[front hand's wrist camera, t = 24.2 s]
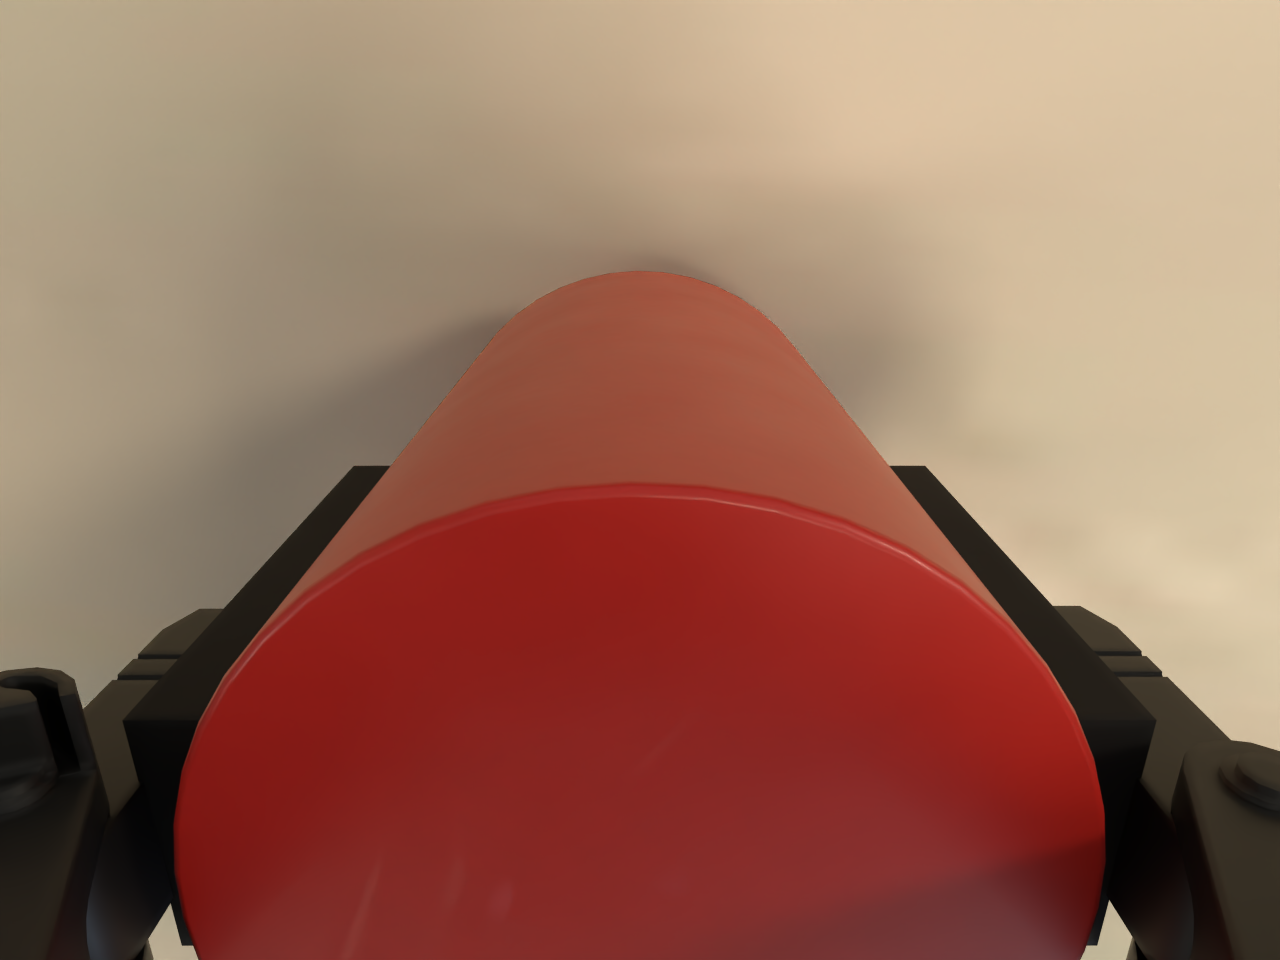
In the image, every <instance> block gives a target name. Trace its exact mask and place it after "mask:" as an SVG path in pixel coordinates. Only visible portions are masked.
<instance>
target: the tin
mask: <svg viewBox="0 0 1280 960" xmlns="http://www.w3.org/2000/svg"><path fill="white" fill-rule="evenodd" d="M173 827H174V873H175V878H176V883H177V889H178V894H179V899H180V904H181V909H182V914H183V919H184V922H185V924H186V927H187V930H188V932H189V935H190V938H191V941H192V943H193V946H194V949H195V951H196V954H197V957H198V960H1080V959H1081V957H1082V955H1083V953H1084V951H1085V948H1086V945H1087V942H1088V939H1089V936H1090V933H1091V930H1092V926H1093V923H1094V920H1095V917H1096V914H1097V911H1098V908H1099V902H1100V895H1101V889H1102V882H1103V875H1104V869H1105V862H1106V857H1105V814H1104V806H1103V801H1102V796H1101V791H1100V786H1099V781H1098V776H1097V771H1096V766H1095V761H1094V757H1093V755H1092V752H1091V750H1090V747H1089V745H1088V742H1087V740H1086V737H1085V734H1084V732H1083V729H1082V727H1081V724H1080V722H1079V719H1078V717H1077V714H1076V712H1075V710H1074V708H1073V706H1072V705H1071V703H1070V701H1069V700H1068V698H1067V696H1066V695H1065V693H1064V691H1063V690H1062V688H1061V687H1060V685H1059V683H1058V682H1057V680H1056V678H1055V677H1054V675H1053V673H1052V672H1051V670H1050V668H1049V667H1048V665H1047V664H1046V662H1045V661H1044V660H1043V659H1042V657H1041V656H1040V655H1039V654H1038V652H1037V651H1036V650H1035V648H1034V647H1033V646H1032V645H1031V643H1030V642H1029V641H1028V640H1027V638H1026V637H1025V636H1024V635H1023V633H1022V632H1021V631H1020V630H1019V628H1018V627H1017V626H1016V625H1015V623H1014V622H1013V621H1012V620H1011V618H1010V617H1009V616H1008V615H1007V613H1006V612H1005V611H1004V610H1003V608H1002V607H1001V606H1000V605H999V603H998V602H997V601H996V600H995V598H994V597H993V596H992V594H991V593H990V592H989V591H988V589H987V588H986V587H985V586H984V584H983V583H982V582H981V581H980V579H979V578H978V577H977V576H976V574H975V573H974V572H973V571H972V569H971V568H970V567H969V566H968V564H967V563H966V562H965V561H964V559H963V558H962V557H961V556H960V554H959V553H958V552H957V551H956V549H955V548H954V547H953V546H952V544H951V543H950V542H949V541H948V539H947V538H946V537H945V535H944V534H943V533H942V532H941V530H940V529H939V528H938V527H937V525H936V524H935V523H934V522H933V520H932V519H931V518H930V517H929V515H928V514H927V513H926V512H925V510H924V509H923V508H922V507H921V505H920V504H919V503H918V502H917V500H916V499H915V498H914V497H913V495H912V494H911V493H910V492H909V490H908V489H907V488H906V487H905V485H904V484H903V483H902V481H901V480H900V479H899V478H898V476H897V475H896V474H895V473H894V471H893V470H892V469H891V468H890V466H889V465H888V464H887V463H886V461H885V460H884V459H883V458H882V456H881V455H880V454H879V453H878V451H877V450H876V449H875V448H874V446H873V445H872V444H871V443H870V441H869V440H868V439H867V438H866V436H865V435H864V434H863V433H862V431H861V430H860V429H859V428H858V426H857V425H856V424H855V422H854V421H853V420H852V419H851V417H850V416H849V415H848V414H847V412H846V411H845V410H844V409H843V407H842V406H841V405H840V404H839V402H838V401H837V400H836V399H835V397H834V396H833V395H832V394H831V392H830V391H829V390H828V389H827V387H826V386H825V385H824V384H823V382H822V381H821V380H820V379H819V377H818V376H817V375H816V374H815V372H814V371H813V370H812V369H811V367H810V366H809V365H808V363H807V362H806V361H805V360H804V358H803V357H802V356H801V355H800V353H799V352H798V351H797V350H796V348H795V347H794V346H793V345H792V344H791V342H790V341H789V340H788V339H787V338H786V337H785V335H784V334H783V333H782V332H781V331H780V330H779V328H778V327H776V326H775V325H774V324H773V323H772V322H771V321H770V320H769V319H767V318H766V317H765V316H764V315H763V314H762V313H761V312H760V311H758V310H757V309H755V308H754V307H752V306H751V305H749V304H748V303H746V302H745V301H743V300H742V299H740V298H739V297H737V296H735V295H733V294H731V293H729V292H727V291H725V290H723V289H721V288H719V287H717V286H714V285H711V284H708V283H705V282H702V281H699V280H696V279H693V278H690V277H685V276H680V275H675V274H669V273H664V272H646V271H631V272H619V273H609V274H604V275H600V276H595V277H591V278H586V279H583V280H580V281H577V282H574V283H572V284H569V285H566V286H564V287H561V288H558V289H557V290H555V291H553V292H551V293H549V294H547V295H545V296H543V297H541V298H540V299H538V300H536V301H535V302H533V303H532V304H530V305H529V306H528V307H526V308H525V309H523V310H522V311H521V312H519V313H518V314H517V315H515V316H514V317H513V318H512V319H511V320H510V321H509V322H508V323H507V324H506V325H505V326H504V327H503V328H502V329H501V330H499V331H498V332H497V333H496V335H495V336H494V337H493V339H492V340H491V341H490V342H489V344H488V345H487V346H486V347H485V349H484V350H483V351H482V352H481V354H480V355H479V356H478V357H477V359H476V360H475V361H474V362H473V364H472V365H471V366H470V367H469V369H468V370H467V371H466V372H465V374H464V375H463V376H462V377H461V379H460V380H459V381H458V382H457V384H456V385H455V386H454V387H453V389H452V390H451V391H450V392H449V394H448V395H447V396H446V397H445V399H444V400H443V401H442V402H441V404H440V405H439V406H438V407H437V409H436V410H435V411H434V412H433V414H432V415H431V416H430V417H429V419H428V420H427V421H426V423H425V424H424V425H423V426H422V428H421V429H420V430H419V431H418V433H417V434H416V435H415V436H414V438H413V439H412V440H411V441H410V443H409V444H408V445H407V446H406V448H405V449H404V450H403V451H402V453H401V454H400V455H399V456H398V458H397V459H396V460H395V461H394V463H393V464H392V465H391V466H390V468H389V469H388V470H387V471H386V473H385V474H384V475H383V476H382V478H381V479H380V480H379V481H378V483H377V484H376V485H375V486H374V488H373V489H372V490H371V491H370V493H369V494H368V495H367V496H366V498H365V499H364V500H363V501H362V503H361V504H360V505H359V507H358V508H357V509H356V510H355V512H354V513H353V514H352V515H351V517H350V518H349V519H348V520H347V522H346V523H345V524H344V525H343V527H342V528H341V529H340V530H339V532H338V533H337V534H336V535H335V537H334V538H333V539H332V540H331V542H330V543H329V544H328V545H327V547H326V548H325V549H324V550H323V552H322V553H321V554H320V555H319V557H318V558H317V559H316V560H315V562H314V563H313V564H312V565H311V567H310V568H309V569H308V570H307V572H306V573H305V574H304V575H303V577H302V578H301V579H300V580H299V582H298V583H297V584H296V585H295V587H294V588H293V589H292V591H291V592H290V593H289V594H288V596H287V597H286V598H285V599H284V601H283V602H282V603H281V604H280V606H279V607H278V608H277V609H276V611H275V612H274V613H273V614H272V616H271V617H270V618H269V619H268V621H267V622H266V623H265V624H264V626H263V627H262V628H261V629H260V631H259V632H258V633H257V634H256V636H255V637H254V638H253V639H252V641H251V642H250V643H249V645H248V646H247V647H246V648H245V650H244V651H243V652H242V653H241V655H240V656H239V657H238V658H237V660H236V661H235V662H234V663H233V665H232V666H231V667H230V669H229V670H228V671H227V672H226V674H225V675H224V677H223V678H222V680H221V682H220V684H219V686H218V687H217V689H216V691H215V693H214V695H213V697H212V698H211V700H210V702H209V704H208V706H207V707H206V709H205V711H204V713H203V715H202V717H201V718H200V720H199V722H198V725H197V728H196V731H195V733H194V736H193V739H192V742H191V745H190V748H189V751H188V754H187V757H186V760H185V763H184V765H183V768H182V772H181V779H180V785H179V791H178V798H177V804H176V810H175V817H174V825H173Z"/></svg>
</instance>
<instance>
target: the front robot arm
mask: <svg viewBox="0 0 1280 960" xmlns="http://www.w3.org/2000/svg"><path fill="white" fill-rule="evenodd" d="M389 468H390V466H353V468H352V469H351V470H350V471H349V472H348V473H347V474H346V475H345V476H344V477H343V479H342V480H341V481H340V482H339V483H338V484H337V485H336V486H335V487H334V488H333V489H332V491H331V492H330V493H329V494H328V495H327V496H326V497H325V498H324V499H323V500H322V502H321V503H320V504H319V505H318V506H317V507H316V508H315V509H314V510H313V511H312V513H311V514H310V515H309V516H308V517H307V518H306V519H305V520H304V521H303V522H302V524H301V525H300V526H299V527H298V528H297V529H296V530H295V531H294V532H293V533H292V534H291V536H290V537H289V538H288V539H287V540H286V541H285V542H284V543H283V544H282V545H281V547H280V548H279V549H278V550H277V551H276V552H275V553H274V554H273V555H272V556H271V558H270V559H269V560H268V561H267V562H266V563H265V564H264V565H263V566H262V567H261V569H260V570H259V571H258V572H257V573H256V574H255V575H254V576H253V577H252V578H251V579H250V581H249V582H248V583H247V584H246V585H245V586H244V587H243V588H242V589H241V590H240V592H239V593H238V594H237V595H236V596H235V597H234V598H233V599H232V600H231V601H230V603H229V604H228V605H227V606H226V607H225V608H224V609H199V610H197V611H195V612H193V613H191V614H190V615H188V616H186V617H184V618H183V619H181V620H179V621H177V622H176V623H174V624H172V625H170V626H169V627H167V628H165V629H163V630H162V631H161V632H160V633H159V634H158V635H157V636H156V637H155V638H154V639H153V640H152V641H151V642H150V643H149V644H148V645H147V646H146V647H145V648H144V649H143V650H142V651H141V652H140V653H139V654H138V659H133V660H132V661H131V662H130V663H129V664H128V665H127V666H126V667H125V668H124V669H123V670H122V671H121V672H120V673H119V674H118V679H117V680H112V681H111V682H110V683H109V684H108V685H107V686H106V687H105V688H104V689H103V690H102V691H101V692H100V693H99V694H98V695H97V696H96V697H95V698H94V699H93V700H92V701H91V702H90V703H89V704H88V705H87V706H86V707H85V708H84V709H82V705H81V702H80V698H79V694H78V691H77V687H76V684H75V680H74V679H73V678H71V677H70V676H68V675H67V674H65V673H64V672H62V671H61V670H53V669H45V668H27V669H17V670H7V671H3V672H0V960H153V955H152V951H151V948H150V944H149V941H148V938H149V937H150V935H151V933H152V932H153V930H154V929H155V927H156V925H157V924H158V922H159V921H160V919H161V917H162V916H163V914H164V913H165V911H166V909H167V908H168V906H169V905H170V903H171V906H172V910H173V914H174V917H175V921H176V925H177V929H178V932H179V936H180V940H181V944H182V946H193V943H192V941H191V938H190V935H189V932H188V930H187V927H186V924H185V922H184V919H183V914H182V909H181V904H180V899H179V894H178V889H177V883H176V878H175V873H174V827H173V825H174V817H175V810H176V804H177V798H178V791H179V785H180V779H181V772H182V768H183V765H184V763H185V760H186V757H187V754H188V751H189V748H190V745H191V742H192V739H193V736H194V733H195V731H196V728H197V725H198V722H199V720H200V718H201V717H202V715H203V713H204V711H205V709H206V707H207V706H208V704H209V702H210V700H211V698H212V697H213V695H214V693H215V691H216V689H217V687H218V686H219V684H220V682H221V680H222V678H223V677H224V675H225V674H226V672H227V671H228V670H229V669H230V667H231V666H232V665H233V663H234V662H235V661H236V660H237V658H238V657H239V656H240V655H241V653H242V652H243V651H244V650H245V648H246V647H247V646H248V645H249V643H250V642H251V641H252V639H253V638H254V637H255V636H256V634H257V633H258V632H259V631H260V629H261V628H262V627H263V626H264V624H265V623H266V622H267V621H268V619H269V618H270V617H271V616H272V614H273V613H274V612H275V611H276V609H277V608H278V607H279V606H280V604H281V603H282V602H283V601H284V599H285V598H286V597H287V596H288V594H289V593H290V592H291V591H292V589H293V588H294V587H295V585H296V584H297V583H298V582H299V580H300V579H301V578H302V577H303V575H304V574H305V573H306V572H307V570H308V569H309V568H310V567H311V565H312V564H313V563H314V562H315V560H316V559H317V558H318V557H319V555H320V554H321V553H322V552H323V550H324V549H325V548H326V547H327V545H328V544H329V543H330V542H331V540H332V539H333V538H334V537H335V535H336V534H337V533H338V532H339V530H340V529H341V528H342V527H343V525H344V524H345V523H346V522H347V520H348V519H349V518H350V517H351V515H352V514H353V513H354V512H355V510H356V509H357V508H358V507H359V505H360V504H361V503H362V501H363V500H364V499H365V498H366V496H367V495H368V494H369V493H370V491H371V490H372V489H373V488H374V486H375V485H376V484H377V483H378V481H379V480H380V479H381V478H382V476H383V475H384V474H385V473H386V471H387V470H388V469H389ZM890 468H891V469H892V470H893V471H894V473H895V474H896V475H897V476H898V478H899V479H900V480H901V481H902V483H903V484H904V485H905V487H906V488H907V489H908V490H909V492H910V493H911V494H912V495H913V497H914V498H915V499H916V500H917V502H918V503H919V504H920V505H921V507H922V508H923V509H924V510H925V512H926V513H927V514H928V515H929V517H930V518H931V519H932V520H933V522H934V523H935V524H936V525H937V527H938V528H939V529H940V530H941V532H942V533H943V534H944V535H945V537H946V538H947V539H948V541H949V542H950V543H951V544H952V546H953V547H954V548H955V549H956V551H957V552H958V553H959V554H960V556H961V557H962V558H963V559H964V561H965V562H966V563H967V564H968V566H969V567H970V568H971V569H972V571H973V572H974V573H975V574H976V576H977V577H978V578H979V579H980V581H981V582H982V583H983V584H984V586H985V587H986V588H987V589H988V591H989V592H990V593H991V594H992V596H993V597H994V598H995V600H996V601H997V602H998V603H999V605H1000V606H1001V607H1002V608H1003V610H1004V611H1005V612H1006V613H1007V615H1008V616H1009V617H1010V618H1011V620H1012V621H1013V622H1014V623H1015V625H1016V626H1017V627H1018V628H1019V630H1020V631H1021V632H1022V633H1023V635H1024V636H1025V637H1026V638H1027V640H1028V641H1029V642H1030V643H1031V645H1032V646H1033V647H1034V648H1035V650H1036V651H1037V652H1038V654H1039V655H1040V656H1041V657H1042V659H1043V660H1044V661H1045V662H1046V664H1047V665H1048V667H1049V668H1050V670H1051V672H1052V673H1053V675H1054V677H1055V678H1056V680H1057V682H1058V683H1059V685H1060V687H1061V688H1062V690H1063V691H1064V693H1065V695H1066V696H1067V698H1068V700H1069V701H1070V703H1071V705H1072V706H1073V708H1074V710H1075V712H1076V714H1077V717H1078V719H1079V722H1080V724H1081V727H1082V729H1083V732H1084V734H1085V737H1086V740H1087V742H1088V745H1089V747H1090V750H1091V752H1092V755H1093V757H1094V761H1095V766H1096V771H1097V776H1098V781H1099V786H1100V791H1101V796H1102V801H1103V806H1104V814H1105V857H1106V862H1105V869H1104V875H1103V882H1102V889H1101V895H1100V902H1099V908H1098V911H1097V914H1096V917H1095V920H1094V923H1093V926H1092V930H1091V933H1090V936H1089V939H1088V942H1087V945H1097V944H1098V940H1099V936H1100V932H1101V929H1102V925H1103V921H1104V917H1105V914H1106V910H1107V906H1108V902H1109V900H1110V902H1111V903H1112V905H1113V906H1114V908H1115V910H1116V911H1117V913H1118V914H1119V916H1120V917H1121V919H1122V921H1123V922H1124V924H1125V925H1126V927H1127V929H1128V930H1129V932H1130V933H1131V935H1132V941H1131V944H1130V948H1129V951H1128V955H1127V958H1126V960H1280V751H1277V750H1274V749H1270V748H1267V747H1264V746H1260V745H1257V744H1254V743H1249V742H1241V741H1232V740H1230V739H1229V738H1228V737H1227V736H1226V735H1225V734H1224V733H1223V732H1222V731H1221V730H1220V729H1219V728H1218V727H1217V726H1216V725H1215V724H1214V723H1213V722H1212V721H1211V720H1210V719H1209V718H1208V717H1207V716H1206V715H1205V714H1204V713H1203V712H1202V711H1201V710H1200V709H1199V708H1198V707H1197V706H1196V705H1195V704H1194V703H1193V702H1192V701H1191V700H1190V699H1189V698H1188V697H1187V696H1186V695H1185V694H1184V693H1183V692H1182V691H1181V690H1180V689H1179V688H1178V687H1177V686H1176V685H1175V684H1174V683H1173V682H1172V681H1171V680H1170V679H1169V678H1168V677H1163V676H1162V671H1161V670H1160V669H1159V668H1158V667H1157V666H1156V665H1155V664H1154V663H1153V662H1152V661H1151V660H1150V659H1149V658H1148V657H1147V656H1142V654H1141V650H1140V649H1139V648H1138V647H1137V646H1136V645H1135V644H1134V643H1133V642H1132V641H1131V640H1130V639H1129V638H1128V637H1127V636H1126V635H1125V634H1124V633H1123V632H1122V631H1121V630H1120V629H1119V628H1118V627H1116V626H1115V625H1113V624H1111V623H1109V622H1107V621H1106V620H1104V619H1102V618H1100V617H1099V616H1097V615H1095V614H1093V613H1092V612H1090V611H1088V610H1086V609H1084V608H1083V607H1081V606H1052V605H1051V604H1050V603H1049V601H1048V600H1047V599H1046V598H1045V597H1044V596H1043V595H1042V594H1041V593H1040V592H1039V590H1038V589H1037V588H1036V587H1035V586H1034V585H1033V584H1032V583H1031V582H1030V581H1029V579H1028V578H1027V577H1026V576H1025V575H1024V574H1023V573H1022V572H1021V571H1020V570H1019V568H1018V567H1017V566H1016V565H1015V564H1014V563H1013V562H1012V561H1011V560H1010V559H1009V557H1008V556H1007V555H1006V554H1005V553H1004V552H1003V551H1002V550H1001V549H1000V548H999V546H998V545H997V544H996V543H995V542H994V541H993V540H992V539H991V538H990V537H989V536H988V534H987V533H986V532H985V531H984V530H983V529H982V528H981V527H980V526H979V525H978V523H977V522H976V521H975V520H974V519H973V518H972V517H971V516H970V515H969V514H968V512H967V511H966V510H965V509H964V508H963V507H962V506H961V505H960V504H959V503H958V501H957V500H956V499H955V498H954V497H953V496H952V495H951V494H950V493H949V492H948V490H947V489H946V488H945V487H944V486H943V485H942V484H941V483H940V482H939V481H938V479H937V478H936V477H935V476H934V475H933V474H932V473H931V472H930V471H929V470H928V469H927V467H926V466H890Z"/></svg>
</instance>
